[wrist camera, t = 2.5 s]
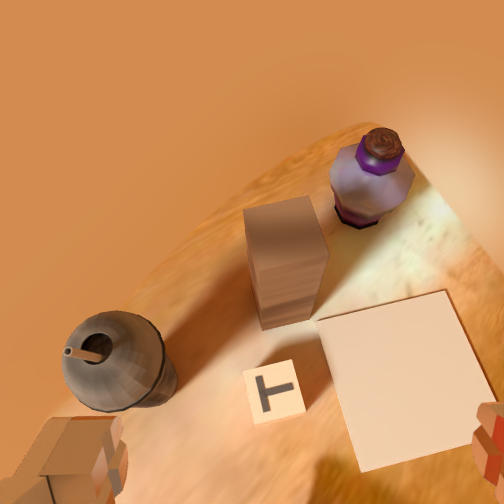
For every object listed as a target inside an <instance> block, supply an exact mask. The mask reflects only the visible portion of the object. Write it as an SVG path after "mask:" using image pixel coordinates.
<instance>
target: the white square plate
mask: <svg viewBox="0 0 504 504" xmlns="http://www.w3.org/2000/svg"><path fill="white" fill-rule="evenodd" d="M315 324H316V327H317V331H318V334H319V337H320V340H321V344H322V347H323V350H324V353H325V357H326V360H327V363H328V366H329V370H330V373H331V376H332V379H333V383H334V386H335V389H336V392H337V396H338V399H339V402H340V405H341V409H342V412H343V415H344V418H345V422H346V425H347V428H348V431H349V435H350V438H351V441H352V444H353V448H354V451H355V454H356V457H357V461H358V464H359V467H360V470H361V472H362V473H363V472H366V471H370V470H374V469H377V468H381V467H385V466H389V465H392V464H396V463H400V462H404V461H407V460H411V459H415V458H418V457H422V456H426V455H430V454H433V453H437V452H441V451H445V450H448V449H452V448H456V447H459V446H463V445H467V444H471V443H472V436H473V432H474V431H475V430H476V429H477V428H478V427H479V426H480V425H481V423H480V422H479V420H478V419H477V417H476V415H477V410H478V407H479V406H480V404H481V403H484V402H496V400H495V398H494V396H493V393H492V391H491V389H490V387H489V385H488V383H487V381H486V378H485V376H484V374H483V372H482V370H481V368H480V365H479V363H478V361H477V359H476V357H475V355H474V352H473V350H472V348H471V346H470V344H469V342H468V339H467V337H466V335H465V333H464V331H463V329H462V326H461V324H460V322H459V320H458V318H457V316H456V313H455V311H454V309H453V307H452V305H451V303H450V300H449V298H448V296H447V294H446V292H445V291H441V292H436V293H432V294H428V295H424V296H420V297H416V298H412V299H407V300H403V301H399V302H395V303H391V304H387V305H383V306H378V307H374V308H370V309H366V310H362V311H358V312H354V313H349V314H345V315H341V316H337V317H333V318H329V319H325V320H320V321H316V322H315Z"/></svg>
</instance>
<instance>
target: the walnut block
mask: <svg viewBox="0 0 504 504" xmlns="http://www.w3.org/2000/svg"><path fill="white" fill-rule="evenodd" d="M243 214H244V224H245V233H246V243H247V252H248V262H249V271H250V281H251V288H252V292H253V296H254V300H255V304H256V308H257V312H258V316H259V320H260V324H261V328H262V331H264V330H268V329H272V328H276V327H280V326H284V325H289V324H293V323H297V322H301V321H305V320H309V318H310V315H311V312H312V309H313V305H314V302H315V299H316V296H317V293H318V290H319V286H320V283H321V280H322V277H323V274H324V271H325V267H326V264H327V261H328V258H329V252H328V249H327V246H326V243H325V240H324V237H323V235H322V232H321V229H320V226H319V223H318V220H317V217H316V214H315V212H314V209H313V206H312V203H311V200H310V197H309V195H308V196H303V197H299V198H294V199H290V200H285V201H281V202H276V203H271V204H267V205H262V206H258V207H253V208H249V209H244V210H243Z"/></svg>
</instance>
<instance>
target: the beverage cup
mask: <svg viewBox="0 0 504 504" xmlns="http://www.w3.org/2000/svg"><path fill="white" fill-rule="evenodd" d="M62 371H63V375H64V378H65V382H66V384H67V386H68V387H69V389H70V390H71V391H72V393H73V394H74V396H75V397H76V398H78V400H79V401H80V402H81V403H83V404H84V405H86V406H87V407H89V408H91V409H92V410H96V411H101V412H106V413H111V412H118V411H125V410H127V409H129V408H131V407H134V408H148V407H155V406H160V405H162V404H164V403H166V402H167V401H168V400H169V399H170V398H171V397H172V396H173V394H174V392H175V390H176V387H177V374H176V372H175V369H174V366H173V364H172V363H171V361H170V359H169V357H168V356H167V354H166V352H165V345H164V342H163V340H162V337H161V334H160V332H159V331H158V330H157V329H156V327H155V326H154V325H153V324H152V323H151V322H150V321H149V320H147V319H145V318H143V317H141V316H140V315H136V314H133V313H129V312H123V311H109V312H103V313H99V314H97V315H94V316H92V317H90V318H88V319H87V320H85V321H84V322H83V323H82V324H80V325H79V326H78V327H77V328H76V329H75V330H74V332H73V333H72V334H71V336H70V337H69V339H68V340H67V343H66V346H65V348H64V351H63V355H62Z"/></svg>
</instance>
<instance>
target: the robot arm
mask: <svg viewBox="0 0 504 504" xmlns="http://www.w3.org/2000/svg"><path fill="white" fill-rule="evenodd" d="M476 417H477V419H478V420H479V422H480V423H481V425H480V426H479V427H478V428H477V429H476V430H475V431H474V432H473V436H472V444H471V445H472V451H473V457H474V460H475V463H476V465H477V468H478V469H479V471H480V473H481V474H482V476H483V478H485V479H486V480H488V481H489V482H490V483H492V484H493V485H495V486H496V492H495V497H496V499H497V500H498V502H499V504H504V402H484V403H481V404H480V406H479V407H478V410H477V415H476ZM122 432H123V425H122V421H121V418H120V417H118V416H75V417H52V418H51V419H49V420H48V421H47V422H46V424H45V425H44V427H43V428H42V430H41V432H40V433H39V435H38V436H37V438H36V440H35V441H34V443H33V444H32V446H31V448H30V449H29V451H28V453H27V454H26V456H25V457H24V459H23V461H22V462H21V464H20V465H19V467H18V469H17V470H16V472H15V473H14V475H13V477H12V478H4V479H3V480H1V481H0V504H115V499H114V498H115V497H116V496H117V495H118V494H119V493H120V492H121V491H122V490H123V487H124V484H125V480H126V476H127V468H128V452H127V446H126V444H125V443H124V442H123V441H121V440H120V438H121V435H122Z"/></svg>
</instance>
